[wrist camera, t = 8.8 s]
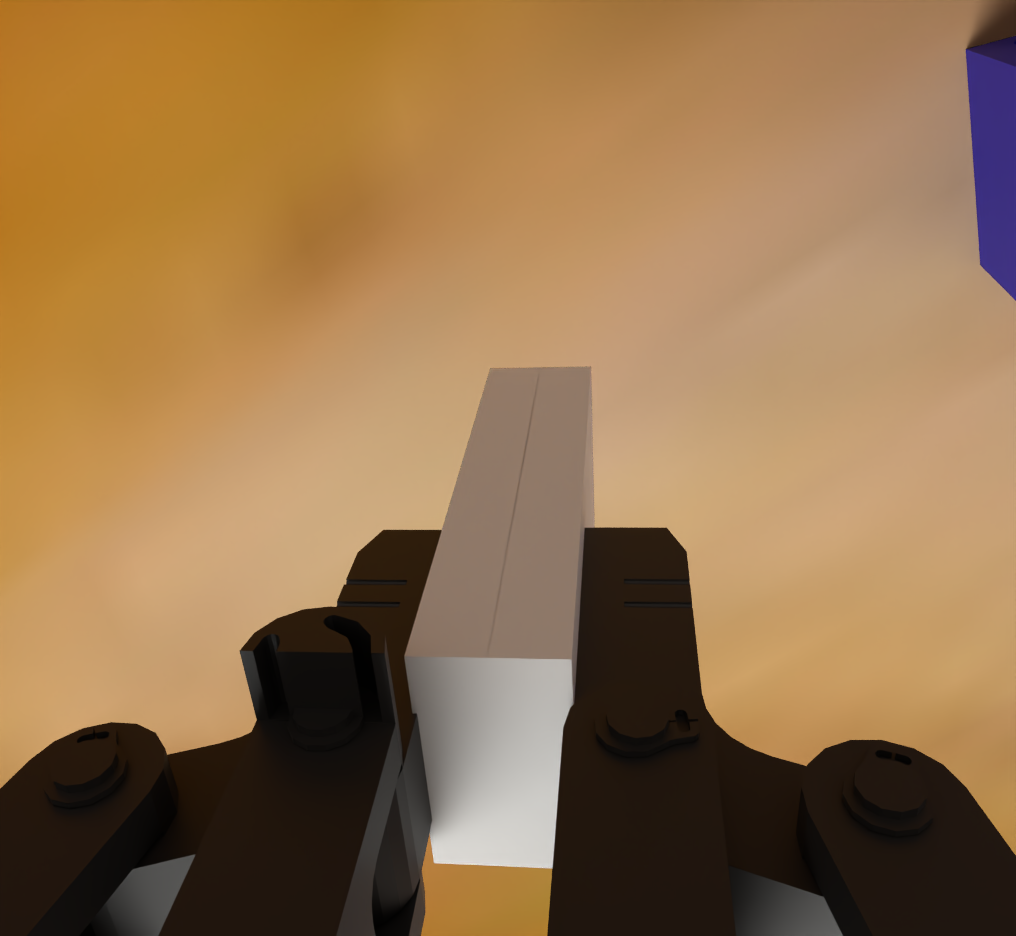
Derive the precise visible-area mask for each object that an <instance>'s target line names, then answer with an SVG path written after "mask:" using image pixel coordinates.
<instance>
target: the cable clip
mask: <svg viewBox="0 0 1016 936" xmlns="http://www.w3.org/2000/svg"><path fill="white" fill-rule="evenodd" d="M966 59H967V74H968V89H969V104H970V118H971V133H972V148H973V163H974V177H975V192H976V207H977V222H978V237H979V251H980V265H981V266H982V267H983V268H984V269H985V270H986V271H987V272H988V273H989V274H990V275H991V276H992V277H993V278H994V279H995V280H996V281H997V282H998V283H999V284H1000V285H1001V286H1002V287H1003V288H1004V289H1005V290H1006V291H1007V292H1008V293H1009V294H1010V295H1011V296H1012V297H1013V298H1014V299H1015V300H1016V36H1013V37H1009V38H1006V39H1002V40H998V41H994V42H991V43H987V44H983V45H980V46H976V47H972V48H969V49H966Z"/></svg>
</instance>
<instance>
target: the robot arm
mask: <svg viewBox="0 0 1016 936" xmlns="http://www.w3.org/2000/svg"><path fill="white" fill-rule="evenodd" d="M346 580H347V583H346V585H344V586H343V589H342V591H341V593H340V596H339V598H338V600H337V607H322V608H313V609H304V610H301V611H298V612H295V613H292V614H289V615H286V616H283V617H280V618H277V619H275V620H274V621H272V622H271V623H269V624H268V625H266V626H265V627H263V628H261V629H260V630H258V631H257V632H255V633H254V634H253V635H252V637H251V638H250V639H249V640H248V641H247V643H246V644H245V645H244V646H243V647H242V649H241V650H240V654H241V658H242V662H243V666H244V670H245V674H246V678H247V682H248V686H249V690H250V694H251V698H252V702H253V706H254V710H255V714H256V718H257V721H256V723H255V726H254V728H253V730H252V732H251V733H249V734H247V735H244V736H242V737H240V738H236V739H233V740H230V741H226V742H223V743H220V744H215V745H210V746H206V747H201V748H197V749H192V750H187V751H183V752H178V753H174V754H169V755H167V753H166V750H165V748H164V746H163V744H162V743H161V741H160V740H159V738H158V736H157V735H156V733H155V732H153V731H150V730H148V729H146V728H144V727H142V726H140V725H138V724H130V723H113V722H111V723H106V724H102V725H97V726H92V727H87V728H83V729H81V730H78V731H76V732H74V733H72V734H70V735H67V736H65V737H63V738H61V739H59V740H56V741H54V742H53V743H52V744H50V745H49V746H48V747H46V748H45V749H44V750H42V751H41V752H40V753H39V754H37V755H36V756H35V757H33V758H32V759H31V760H29V761H28V762H27V763H26V764H25V765H24V766H23V767H22V768H21V769H20V770H19V771H18V772H17V773H16V774H15V775H14V776H13V777H12V778H11V779H10V780H9V781H8V782H7V783H6V784H5V785H4V786H3V787H2V788H1V789H0V936H421V931H422V926H423V921H424V916H425V890H424V883H423V877H422V866H423V861H424V856H425V852H426V847H427V842H428V837H429V833H430V838H431V845H432V852H433V858H434V863H444V864H467V865H489V866H512V867H535V868H553V869H552V882H551V895H550V909H549V922H548V935H547V936H1016V855H1015V854H1014V853H1013V851H1012V850H1011V849H1010V847H1009V846H1008V844H1007V843H1006V842H1005V840H1004V839H1003V838H1002V836H1001V835H1000V833H999V832H998V831H997V829H996V828H995V827H994V825H993V824H992V822H991V821H990V820H989V818H988V817H987V816H986V814H985V813H984V811H983V810H982V809H981V807H980V806H979V805H978V803H977V802H976V800H975V799H974V798H973V796H972V795H971V794H970V792H969V791H968V789H967V788H966V787H965V786H964V785H963V784H962V783H961V782H960V781H959V780H958V779H957V778H956V777H955V776H954V775H953V774H952V773H951V772H950V771H949V770H948V769H947V768H946V767H945V766H944V765H943V764H941V763H939V762H937V761H936V760H934V759H932V758H930V757H928V756H926V755H925V754H923V753H921V752H919V751H917V750H916V749H914V748H910V747H906V746H902V745H898V744H895V743H891V742H887V741H883V740H849V741H846V742H843V743H840V744H837V745H834V746H831V747H828V748H825V749H824V750H823V751H822V752H821V753H820V754H819V755H817V756H816V757H815V758H814V759H813V760H812V761H811V762H810V763H809V764H808V765H807V766H804V765H800V764H797V763H793V762H790V761H786V760H783V759H779V758H775V757H772V756H769V755H767V754H764V753H761V752H759V751H756V750H753V749H751V748H749V747H747V746H745V745H744V744H742V743H740V742H739V741H737V740H735V739H733V738H732V737H730V736H729V735H728V734H727V733H726V732H725V731H724V730H723V729H722V728H720V727H719V726H718V725H717V724H716V723H715V721H714V720H713V718H712V717H711V715H710V714H709V712H708V711H707V709H706V706H705V703H704V699H703V696H702V691H701V681H700V672H699V663H698V654H697V644H696V635H695V626H694V617H693V608H692V598H691V589H690V583H689V570H688V561H687V552H686V551H685V549H684V548H683V547H682V546H681V544H680V543H679V542H678V541H677V540H676V538H675V537H674V536H673V535H672V534H671V532H670V531H669V530H668V529H667V528H594V479H593V433H592V387H591V367H542V368H490V371H489V374H488V378H487V381H486V384H485V388H484V391H483V394H482V398H481V401H480V404H479V408H478V411H477V414H476V418H475V421H474V424H473V428H472V431H471V434H470V438H469V441H468V444H467V448H466V451H465V455H464V458H463V461H462V465H461V468H460V471H459V475H458V478H457V481H456V485H455V488H454V491H453V495H452V498H451V501H450V505H449V508H448V511H447V515H446V518H445V522H444V525H443V528H442V530H383V531H382V532H381V533H379V534H378V535H377V536H376V537H375V538H374V539H373V540H372V541H370V542H369V543H368V544H367V545H366V546H365V547H364V548H363V549H361V550H360V551H359V552H358V553H357V556H356V558H355V560H354V563H353V565H352V567H351V570H350V572H349V574H348V577H347V579H346Z"/></svg>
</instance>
